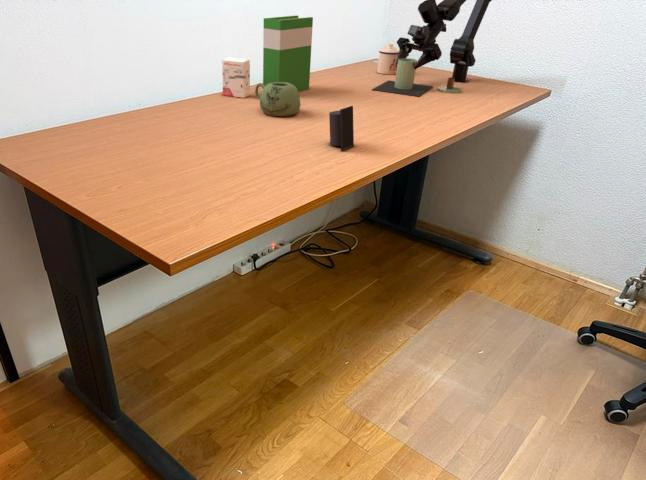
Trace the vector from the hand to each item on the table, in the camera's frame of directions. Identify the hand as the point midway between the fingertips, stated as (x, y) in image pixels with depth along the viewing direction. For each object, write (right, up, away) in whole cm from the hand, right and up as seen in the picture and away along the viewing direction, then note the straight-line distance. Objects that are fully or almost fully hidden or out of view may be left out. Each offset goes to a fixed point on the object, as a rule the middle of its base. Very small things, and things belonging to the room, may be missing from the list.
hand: (405, 66), depth 189 cm
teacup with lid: (0, +10, +31) cm, 33 cm away
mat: (0, -7, +4) cm, 8 cm away
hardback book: (-45, -11, -5) cm, 46 cm away
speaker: (-32, -44, -57) cm, 79 cm away
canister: (0, -6, +5) cm, 8 cm away
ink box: (-63, -16, -13) cm, 66 cm away
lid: (+18, -8, +4) cm, 20 cm away
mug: (-48, -27, -30) cm, 63 cm away
